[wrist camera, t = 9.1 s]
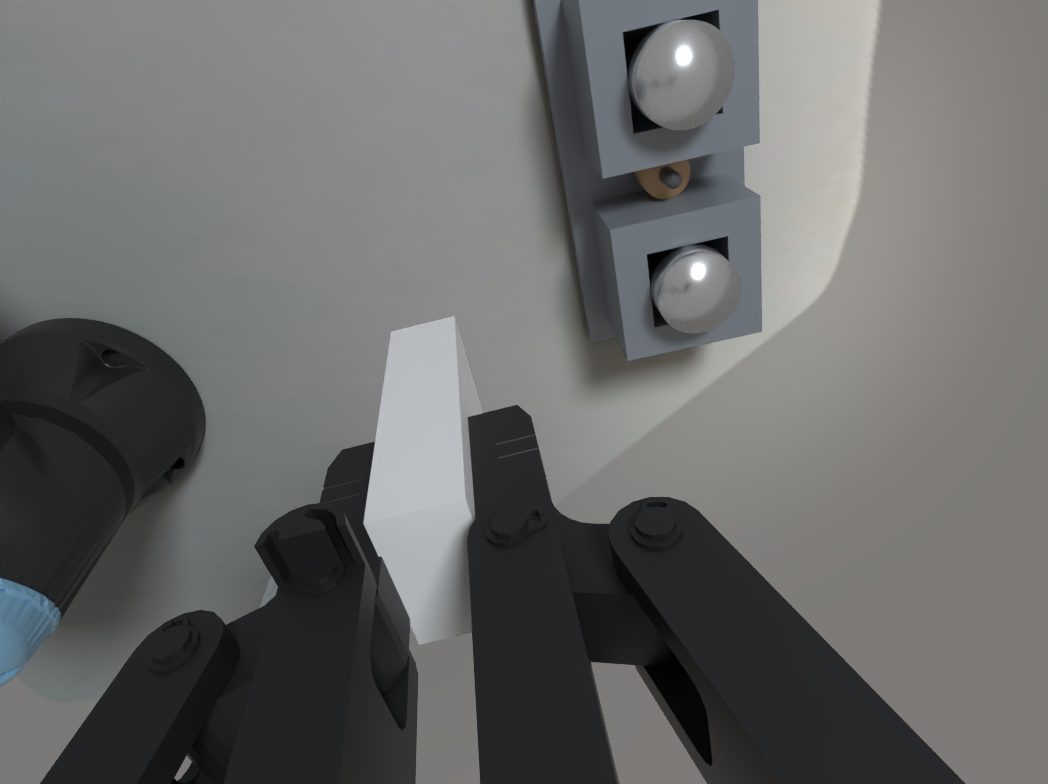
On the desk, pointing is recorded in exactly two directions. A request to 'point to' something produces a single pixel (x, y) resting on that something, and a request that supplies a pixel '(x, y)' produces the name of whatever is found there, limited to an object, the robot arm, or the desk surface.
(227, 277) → the desk surface
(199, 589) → the desk surface
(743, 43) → the mount
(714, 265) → the knob
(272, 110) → the desk surface
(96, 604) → the desk surface
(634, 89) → the knob
